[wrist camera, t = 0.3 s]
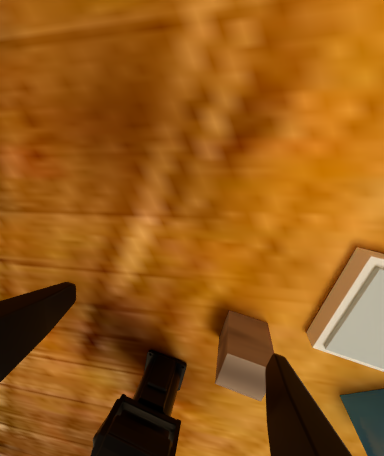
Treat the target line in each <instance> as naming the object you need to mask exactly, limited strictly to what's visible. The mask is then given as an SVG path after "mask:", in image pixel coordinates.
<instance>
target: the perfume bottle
mask: <svg viewBox="0 0 384 456" xmlns="http://www.w3.org/2000/svg"><path fill="white" fill-rule="evenodd" d="M340 397H341V399H342V401H343V404H344V406H345V408H346V410H347V412H348V414H349V417H350V419H351V421H352V423H353V425H354V427H355V429H356V432H357V434H358V436H359V438H360V440H361V442H362V445H363V447H364V449H365V451H366V453H367V455H368V456H384V389H379V390H372V391H366V392H359V393H352V394H346V395H340Z"/></svg>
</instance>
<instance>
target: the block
mask: <svg viewBox="0 0 384 456" xmlns="http://www.w3.org/2000/svg"><path fill="white" fill-rule="evenodd" d="M272 354H274V351H273V346H272V341H271V337H270V332H269V327H268V323H266V322H263V321H260V320H257V319H254V318H251V317H248V316H245V315H242V314H239V313H236V312H233V311H230V310H229V312H228V315H227V317H226V320H225V323H224V326H223V328H222V331H221V334H220V337H219V347H218V358H217V370H216V381H215V384H218V385H220V386H223V387H225V388H228V389H230V390H233V391H235V392H238V393H240V394H243V395H246V396H248V397H251V398H253V399H256V400H258V401H261V400H262V399H263V397H264V395H265V393H266V383H265V369H266V366H267V364H268V362H269V360H270V358H271V356H272Z"/></svg>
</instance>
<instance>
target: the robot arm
mask: <svg viewBox="0 0 384 456" xmlns="http://www.w3.org/2000/svg"><path fill="white" fill-rule="evenodd" d="M75 300H76V286H75V284H73V283H70V282H64V283H60V284H57V285H53V286H50V287H47V288H43V289H40V290H36V291H33V292H30V293H26V294H23V295H19V296H16V297H13V298H9V299H6V300H2V301H0V382H1V381H2V380H3V379H4V378H5V377H6V376H7V375H8V374H9V373H10V372H11V371H12V370H13V369H14V368H15V367H16V366H17V365H18V364H19V363H20V362H21V361H22V360H23V359H24V358H25V357H26V356H27V355H28V354H29V353H30V352H31V351H32V350H33V349H34V348H35V347H36V346H37V345H38V344H39V343H40V342H41V341H42V340H43V339H44V338H45V336H46V335H47V334H48V333H49V332H50V331H51V330H52V329H53V328H54V326H55V325H56V324H57V323H58V322H59V320H60V319H61V318H62V317H63V316H64V315H65V313H66V312H67V311H68V310H69V309H70V307H71V306H72V305H73V304H74V302H75ZM186 366H187V365H186V363H184V362H181V361H179V360H176V359H174V358H171V357H168V356H166V355H163V354H161V353H158V352H155V351H153V350H149V351H148V353H147V359H146V365H145V371H144V375H143V377H142V379H141V381H140V384H139V386H138V388H137V391H136V393H135V395H134V397H133V399H131V398H129V397H127V396H126V395H125V394H122V396H121V397H120V399H117V400H116V402H115V404H114V406H113V408H112V410H111V411H110V413H109V415H108V416H107V418H106V419H105V421H104V422H103V424H102V425H101V427H100V428H99V430H98V431H97V433H96V434H95V436H94V438H93V449H92V453H91V456H175V453H176V448H177V442H178V436H179V430H180V425H181V420H178V419H177V420H176V419H174V418H172V417H171V413H172V409H173V405H174V401H175V397H176V394H177V391H179V390H180V387H181V384H182V380H183V377H184V373H185V370H186ZM265 383H266V412H267V427H268V436H269V444H270V452H271V456H352V455H351V454H350V452H349V451H348V449H347V448H346V446H345V445H344V443H343V442H342V440H341V439H340V437H339V436H338V434H337V433H336V431H335V430H334V429H333V427H332V426H331V424H330V423H329V421H328V420H327V418H326V417H325V415H324V414H323V412H322V411H321V409H320V408H319V406H318V405H317V404H316V402H315V401H314V399H313V398H312V396H311V395H310V393H309V392H308V390H307V389H306V387H305V386H304V384H303V383H302V381H301V380H300V379H299V377H298V376H297V374H296V373H295V371H294V370H293V368H292V367H291V365H290V364H289V362H288V361H287V359H286V358H285V357H284V356H281V355H278V354H275V353H274V354H272V356H271V358H270V360H269V362H268V364H267V366H266V369H265Z"/></svg>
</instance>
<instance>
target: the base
mask: <svg viewBox="0 0 384 456" xmlns="http://www.w3.org/2000/svg"><path fill="white" fill-rule="evenodd" d="M306 334H307V336H308V338H309V340H310V343H311V345H312V347H313V348H315V349H318V350H321V351H324V352H327V353H330V354H333V355H336V356H339V357H342V358H345V359H348V360H351V361H354V362H357V363H360V364H362V365H365V366H368V367H371V368H374V369H377V370H380V371H383V372H384V254H382V253H378V252H374V251H370V250H367V249H363V248H359V247H357V248H356V250H355V251H354V253H353V255H352V256H351V258H350V260H349V261H348V263H347V265H346V266H345V268H344V270H343V271H342V273H341V275H340V276H339V278H338V280H337V282H336V283H335V285H334V287H333V288H332V290H331V292H330V293H329V295H328V297H327V298H326V300H325V302H324V303H323V305H322V307H321V308H320V310H319V312H318V313H317V315H316V317H315V319H314V320H313V322H312V324H311V325H310V327H309V329H308V330H307V332H306Z"/></svg>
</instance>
